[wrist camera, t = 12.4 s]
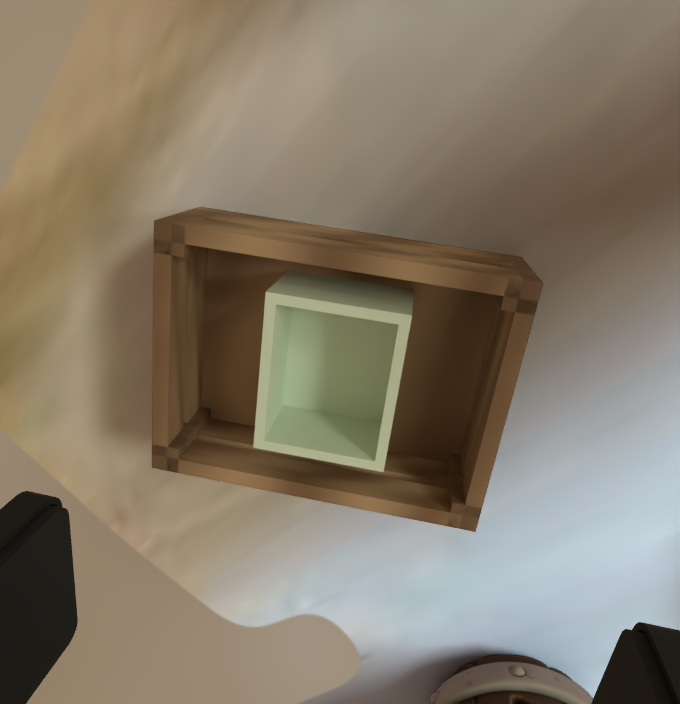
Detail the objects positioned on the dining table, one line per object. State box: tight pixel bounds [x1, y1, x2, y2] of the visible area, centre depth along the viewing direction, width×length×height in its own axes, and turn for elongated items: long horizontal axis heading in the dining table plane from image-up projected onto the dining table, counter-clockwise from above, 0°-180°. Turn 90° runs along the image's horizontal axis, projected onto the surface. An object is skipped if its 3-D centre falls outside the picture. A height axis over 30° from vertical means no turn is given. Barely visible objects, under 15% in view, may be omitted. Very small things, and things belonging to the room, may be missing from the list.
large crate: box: [152, 207, 543, 532], centre depth 28 cm, size 17×13×5 cm
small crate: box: [253, 270, 414, 472], centre depth 28 cm, size 6×8×4 cm
